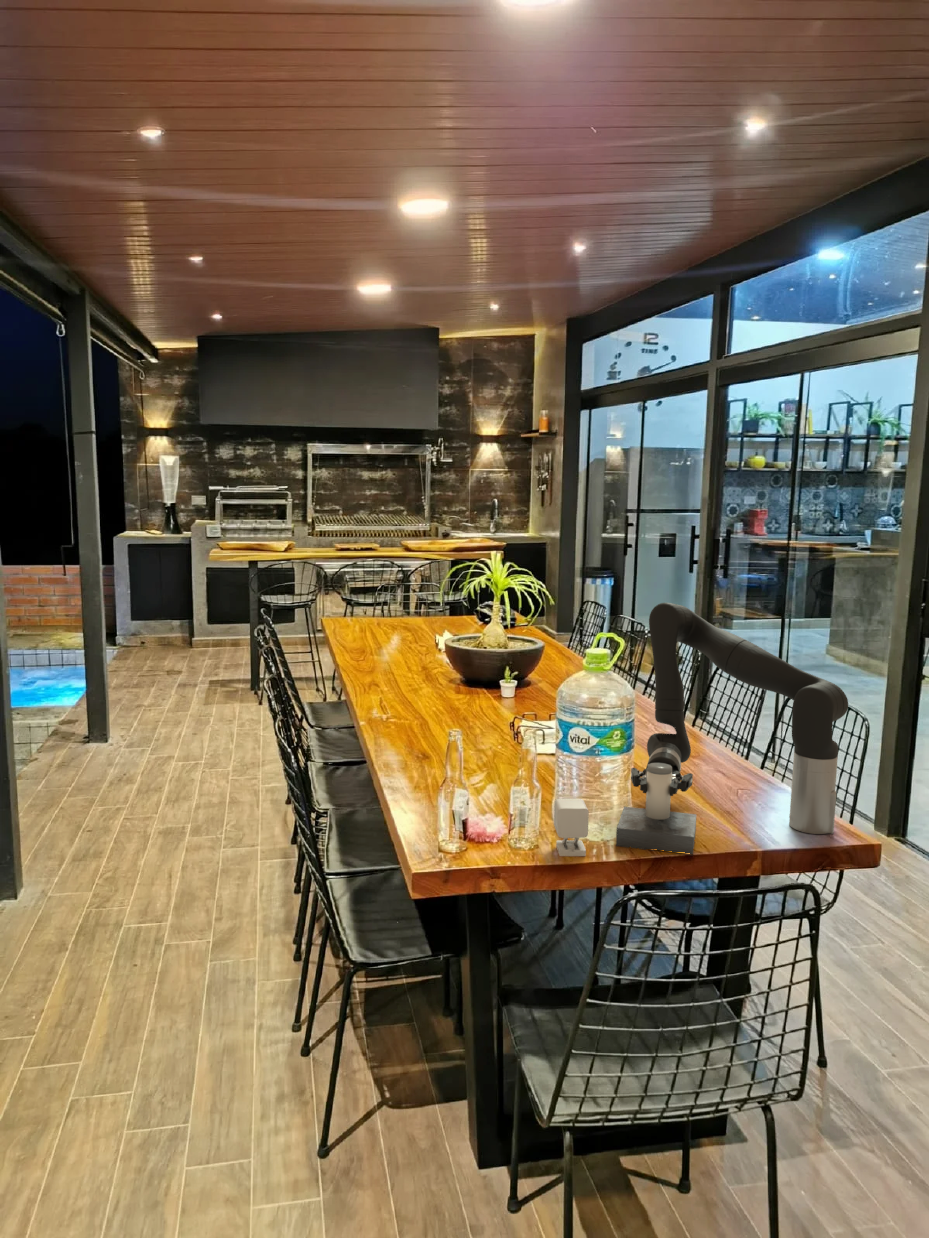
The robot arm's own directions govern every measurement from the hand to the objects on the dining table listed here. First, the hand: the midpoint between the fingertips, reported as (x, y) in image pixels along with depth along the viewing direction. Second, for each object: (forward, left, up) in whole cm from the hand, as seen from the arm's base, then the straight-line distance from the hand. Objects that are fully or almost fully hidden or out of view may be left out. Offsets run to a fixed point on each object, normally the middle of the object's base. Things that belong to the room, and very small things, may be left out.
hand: (658, 790), depth 198 cm
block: (0, -3, -12) cm, 12 cm away
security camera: (+17, +9, -12) cm, 23 cm away
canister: (0, -3, -6) cm, 7 cm away
